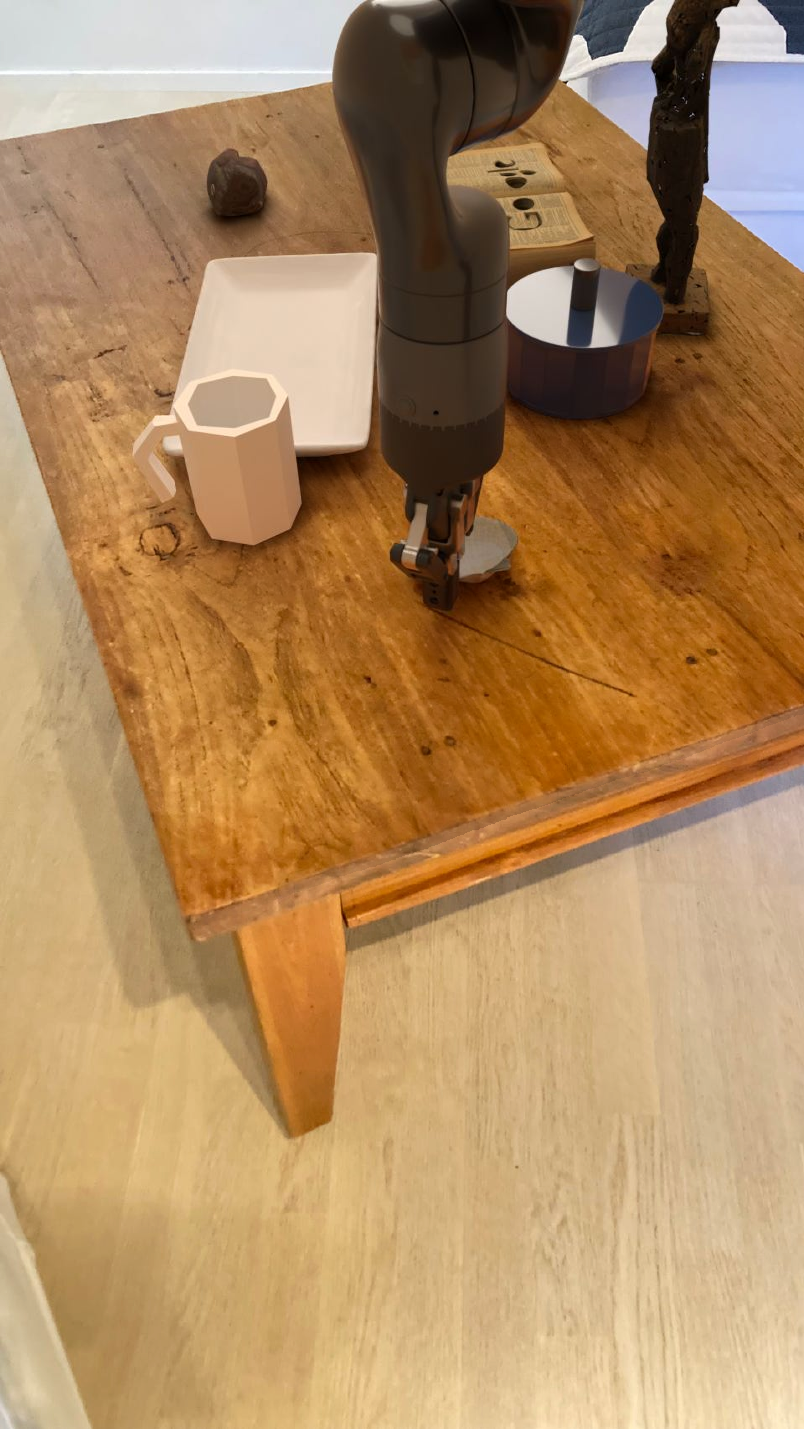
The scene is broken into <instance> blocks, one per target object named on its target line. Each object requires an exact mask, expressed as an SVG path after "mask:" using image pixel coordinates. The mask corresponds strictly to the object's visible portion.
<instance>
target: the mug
mask: <svg viewBox="0 0 804 1429" xmlns="http://www.w3.org/2000/svg"><path fill="white" fill-rule="evenodd" d="M173 409H174V414H175V415H170V414H168V415H167V414H165V415H160V414H159V415H154V417H153V418H152V419H151V420H150V422H149V423H148V424H147V425H146V427H145V428H144V430H143V431H141V433H140V435H139V436H138V437H137V439H135V441H133V446H132V455H131V458H132V460H133V461H134V463H135V465H136V466H137V468H138V469H139V471H140V472H141V474H142V475H143V477H144V478H145V480H146V481H147V483H148V484H149V486H150V487H151V489H152V491H153V492H154V494H155V495H156V497H157V498H158V499H159V502H161V503H162V504H163V503H165V502H167V501H169V500H172V499H173V498H174V497H175V495H176V493H177V489H176V483H175V479H174V478H173V477H172V476H171V474H170V473H169V471H168V470H167V469H166V468H165V466H164V465H163V463H162V462H161V461H160V459H159V458H158V457H157V456H156V454H155V453H154V450H155V449H156V448H157V446H158V445H159V443H160V442H161V441H162V440H163V438H164V437H169V436H176V435H179V436H180V440H181V445H182V449H183V454H184V457H183V458H184V463H185V467H186V471H187V472H186V473H187V476H188V481H189V484H190V489H191V494H192V499H193V503H194V507H195V508H194V509H195V511H196V514H197V517H198V518H199V520H200V522H201V523H202V525H203V526H204V528H205V530H206V532H207V533H208V535H209V536H210V538H211V539H213V540H219V541H225V542H231V543H237V544H241V545H242V544H243V545H249V546H255V545H258V544H260V543H262V542H265V541H267V540H269V539H271V538H273V537H276V536H277V535H280V534H282V533H284V532H287V531H289V530H291V528H292V527H293V524H294V522H295V520H296V518H297V515H298V513H299V510H300V508H301V506H302V496H301V486H300V480H299V478H300V477H299V471H298V463H297V457H296V454H295V446H294V438H293V430H292V422H291V414H290V407H289V399H288V395H287V393H286V392H285V391H284V389H283V388H282V387H281V385H280V384H279V383H278V381H277V380H276V379H275V377H274V376H273V375H272V374H265V373H258V372H251V371H244V370H237V369H231V370H227V371H224V372H221V373H217V374H214V375H211V376H207V377H204V378H201V379H198V380H194V381H191V382H189V383H188V385H187V386H186V388H185V389H184V391H183V392H182V393H181V395H180V396H179V398H178V399H177V400H176V402H175V403H174V405H173Z"/></svg>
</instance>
